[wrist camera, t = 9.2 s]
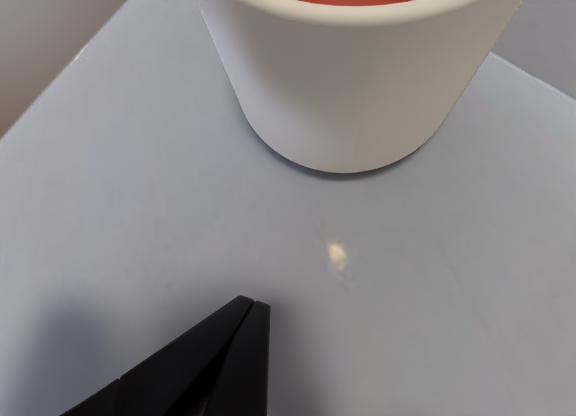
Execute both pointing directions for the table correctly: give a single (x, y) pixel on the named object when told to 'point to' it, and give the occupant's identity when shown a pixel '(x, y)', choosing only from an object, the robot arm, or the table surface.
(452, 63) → the cup
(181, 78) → the table surface
